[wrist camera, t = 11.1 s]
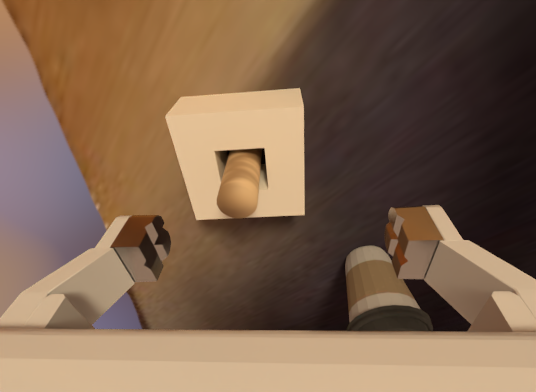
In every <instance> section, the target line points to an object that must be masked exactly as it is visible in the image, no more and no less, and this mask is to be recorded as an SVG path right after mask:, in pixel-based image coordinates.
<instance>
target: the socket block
mask: <svg viewBox="0 0 536 392" xmlns="http://www.w3.org/2000/svg"><path fill="white" fill-rule="evenodd" d="M165 117H166V121H167V124H168V127H169V131H170V134H171V137H172V141H173V144H174V147H175V150H176V154H177V157H178V160H179V164H180V167H181V170H182V174H183V177H184V180H185V184H186V187H187V190H188V194H189V197H190V200H191V204H192V207H193V210H194V213H195V217H196V220H205V219H227V218H232V217H229V216H227V215H225V214H224V213H222V212H221V211H220V209H219V208H218V206H217V196H218V192H219V188H220V185H221V181H222V177H223V174H224V170H225V166H226V163H227V159H228V155H227V150H239V149H255V148H265V159H266V164H261V169H260V181H259V193H258V204H257V208H256V210H255V212H254V213H253V214H252V215H250V216H248V217H245V218H249V217H271V216H293V215H305V211H304V105H303V101H302V96H301V91H300V88H295V89H282V90H269V91H255V92H242V93H229V94H215V95H202V96H188V97H180V99H179V100H178V101H177V102H176V104H175V105H174V106H173V107H172V108H171V110H170V111H169V112H168V113H167V115H166V116H165Z"/></svg>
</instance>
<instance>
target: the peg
mask: <svg viewBox="0 0 536 392" xmlns="http://www.w3.org/2000/svg"><path fill="white" fill-rule="evenodd" d="M261 158H262V148H255V149H239V150H230V152H229V156H228V159H227V163H226V166H225V170H224V174H223V177H222V181H221V185H220V188H219V192H218V196H217V206H218V208H219V209H220V211H221V212H222V213H224V214H225V215H227V216H229V217H232V218H245V217H248V216H250V215H252V214H253V213H254V212H255V210H256V208H257V204H258V193H259V181H260V169H261Z"/></svg>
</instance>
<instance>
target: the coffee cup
mask: <svg viewBox="0 0 536 392" xmlns="http://www.w3.org/2000/svg"><path fill="white" fill-rule="evenodd" d="M345 272H346V284H347V296H348V309H349V321H350V323H349V325H348V327H347V331H433V326H432V324H431V319H430V317H429V315H428V314H427V313H425V312H424V311H422V310H421V309H420V308H419V306H418V304H417V303H416V301H415V299H414V298H413V296H412V294H411V293H410V291H409V289H408V287H407V286H406V284H405V282H404V281H403V279H397V276H396V273H395V270H394V268H393V265H392V261H391V259H390V257H389V256H388V254H386V253H385V251H384V250H383V249H381V248H379V247H376V246H363V247H360V248H357V249H355V250H353V251H352V252H350V253H349V255H348V256H347V258H346V263H345Z"/></svg>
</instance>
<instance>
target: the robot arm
mask: <svg viewBox="0 0 536 392" xmlns="http://www.w3.org/2000/svg"><path fill="white" fill-rule="evenodd" d="M388 217H389V220H390V223H389V224H387V225H386V228H385V244H386V248H387V251H388V253H390V254H391V255H392V256H393V259H392V265H393V268H394V270H395V273H396V276H397V279H425V280H424V281H425V282H427V283H428V284H429V285H430V286H431V287H432V288H433V289H434V290H435V291H436V292H437V293H438V294H439V295H440V296H442V297H443V298H444V299H445V300H446V301H447V302H448V303H449V304H450V305H451V306H452V307H453V308H454V309H455V310H457V311H458V312H459V313H460V314H461V315H462V316H463V317H464V318H465V319H466V320H467V321H468V322H469V323H470V324H472V325H471V327H470V328H469V330H468V331H467V332H442V331H285V330H146V329H138V330H137V329H135V330H134V329H95V328H94V327H93V326H92V324H93V323H94V322H95V321H96V320H97V319H98V318H99V317H100V316H101V315H102V314H103V313H104V312H106V311H107V310H108V309H109V308H110V307H111V306H112V305H113V304H114V303H115V302H116V301H117V300H118V299H119V298H120V297H121V296H122V295H123V294H124V293H125V292H126V291H127V290H128V289H129V288H130V287H131V286H132V285H133V284H134V282H150V281H157V280H158V278H159V276H160V273H161V271H162V268H163V264H162V260H164V259H165V258H166V257H167V256H168V254H169V251H170V245H171V240H170V236H169V233H168V231H166V230H165V229H163V228H162V227H163V225H164V222H163V219H162V217H161V216H159V215H133V216H119V217H117V218H115V220H114V221H113V223H112V224H111V226H110V227H109V228H108V230H107V231H106V233H105V234H104V236H103V237H102V238H101V240H100V241H99V243H98V244H97V246H96V247H95V248H93V249H89V250H88V251H86V252H84V253H83V254H81V255H80V256H78V257H76V258H75V259H73V260H72V261H70V262H69V263H67V264H66V265H64V266H63V267H61V268H59V269H58V270H56V271H55V272H53V273H51V274H50V275H48V276H47V277H45V278H44V279H42V280H41V281H39V282H37V283H36V284H34V285H33V286H31V287H30V288H28V289H27V290H25V291H23V292H22V293H21V294H20V295H19V296H18V297H17V298H16V300H15V301H14V302H13V303H12V305H11V306H10V307H9V308H8V309H7V311H6V312H5V313H4V314H3V315H2V317H1V318H0V392H536V279H534V278H532V277H531V276H529V275H527V274H525V273H524V272H522V271H520V270H519V269H517V268H515V267H513V266H512V265H510V264H508V263H507V262H505V261H503V260H501V259H500V258H498V257H496V256H495V255H493V254H491V253H490V252H488V251H486V250H484V249H483V248H481V247H479V246H478V245H476V244H474V243H472V242H471V241H469V240H463V239H462V237H461V236H460V234H459V233H458V231H457V230H456V228H455V227H454V225H453V224H452V222H451V221H450V219H449V218H448V216H447V215H446V213H445V211H444V210H443V208H442V207H441V206H439V205H428V206H412V207H391V209H390V210H389V214H388Z"/></svg>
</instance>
